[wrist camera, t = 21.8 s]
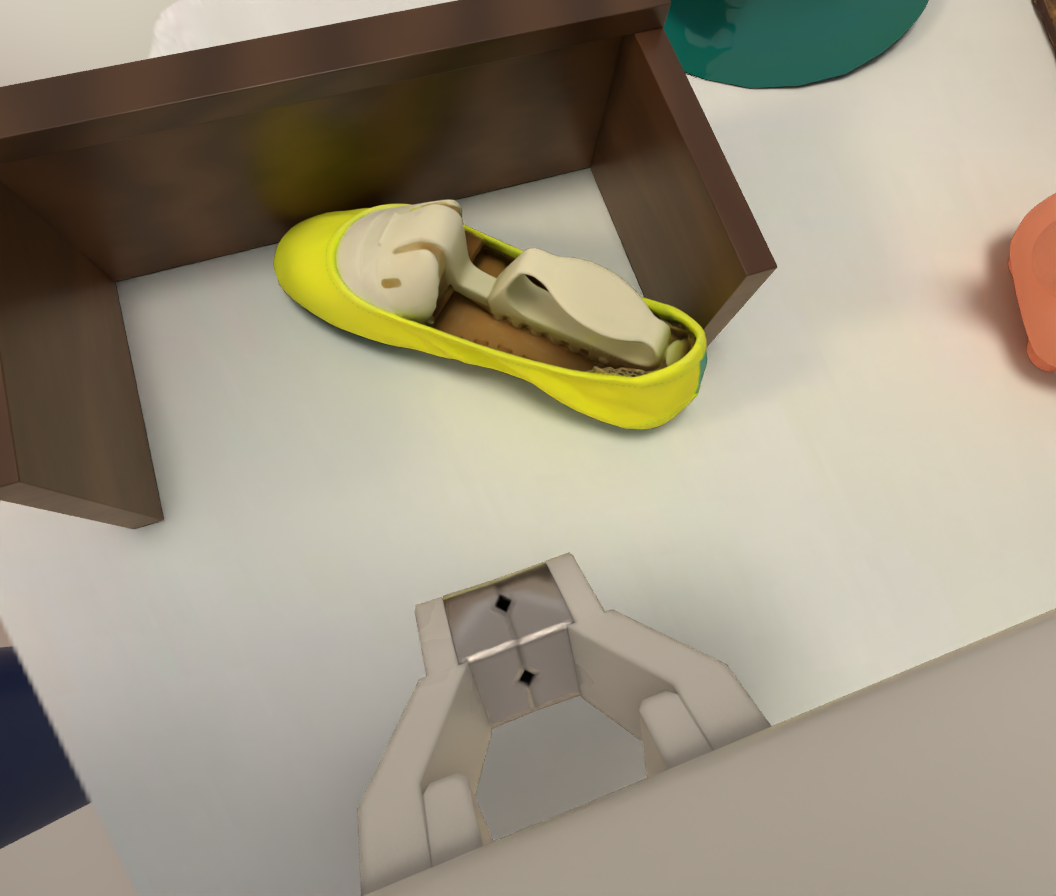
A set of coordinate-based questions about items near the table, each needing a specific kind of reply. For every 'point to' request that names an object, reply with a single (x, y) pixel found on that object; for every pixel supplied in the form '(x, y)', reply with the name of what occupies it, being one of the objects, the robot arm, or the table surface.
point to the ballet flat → (496, 308)
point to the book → (1048, 17)
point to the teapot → (1037, 280)
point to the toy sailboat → (783, 37)
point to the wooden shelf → (324, 189)
